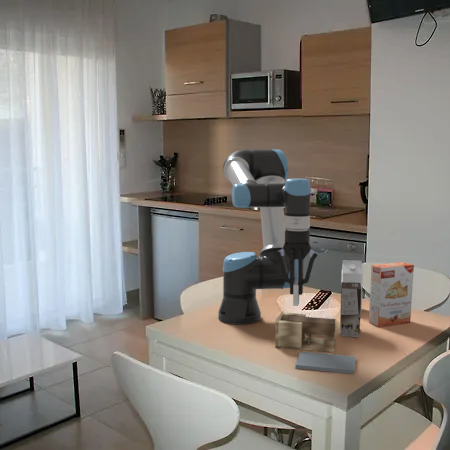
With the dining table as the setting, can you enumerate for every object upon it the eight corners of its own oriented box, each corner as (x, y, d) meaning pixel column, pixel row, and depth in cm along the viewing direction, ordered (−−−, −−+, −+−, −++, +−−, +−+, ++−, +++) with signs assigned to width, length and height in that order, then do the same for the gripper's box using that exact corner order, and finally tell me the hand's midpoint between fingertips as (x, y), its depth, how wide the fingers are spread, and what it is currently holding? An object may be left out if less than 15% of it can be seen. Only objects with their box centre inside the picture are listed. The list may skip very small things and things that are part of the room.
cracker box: (379, 328, 200) (381, 267, 197) (368, 323, 206) (370, 264, 203) (411, 323, 206) (414, 264, 203) (400, 318, 211) (402, 260, 208)
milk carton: (340, 307, 225) (342, 258, 222) (359, 308, 224) (361, 259, 221) (341, 312, 218) (343, 262, 215) (361, 313, 217) (363, 262, 214)
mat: (295, 368, 165) (295, 364, 165) (300, 354, 175) (300, 351, 175) (354, 374, 161) (354, 370, 161) (355, 359, 171) (355, 356, 171)
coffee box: (360, 337, 191) (361, 288, 188) (339, 336, 192) (341, 287, 189) (359, 328, 199) (361, 282, 197) (340, 327, 201) (341, 281, 198)
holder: (274, 347, 182) (275, 322, 180) (280, 336, 192) (280, 312, 191) (332, 352, 177) (333, 326, 176) (335, 340, 187) (335, 316, 186)
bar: (287, 332, 183) (288, 320, 182) (290, 327, 188) (290, 315, 187) (333, 336, 179) (334, 323, 179) (334, 331, 184) (335, 319, 183)
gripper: (273, 230, 178) (273, 306, 181) (317, 231, 175) (316, 309, 178) (278, 227, 185) (277, 300, 188) (320, 228, 182) (318, 303, 185)
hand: (296, 304), depth 183 cm, fingers closed
